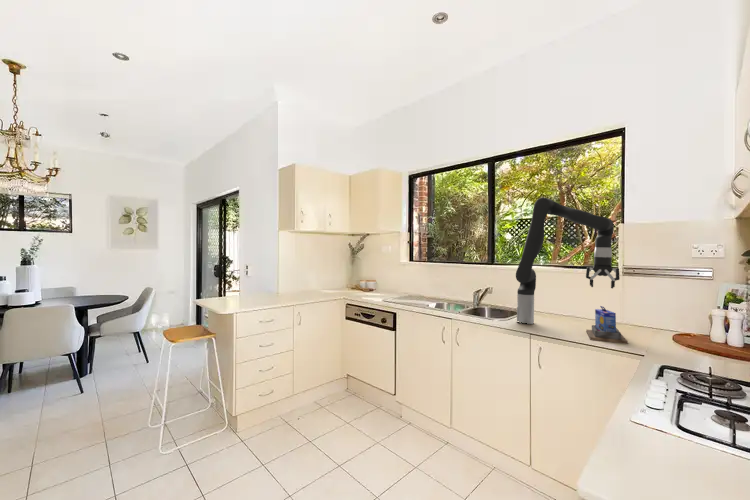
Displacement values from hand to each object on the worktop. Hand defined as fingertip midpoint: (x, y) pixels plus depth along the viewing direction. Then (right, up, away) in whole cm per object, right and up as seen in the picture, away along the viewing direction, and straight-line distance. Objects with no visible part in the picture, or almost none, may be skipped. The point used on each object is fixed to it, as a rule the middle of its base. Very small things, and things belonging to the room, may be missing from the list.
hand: (601, 287), depth 173 cm
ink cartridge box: (-1, -24, -3) cm, 24 cm away
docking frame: (0, -25, -3) cm, 25 cm away
